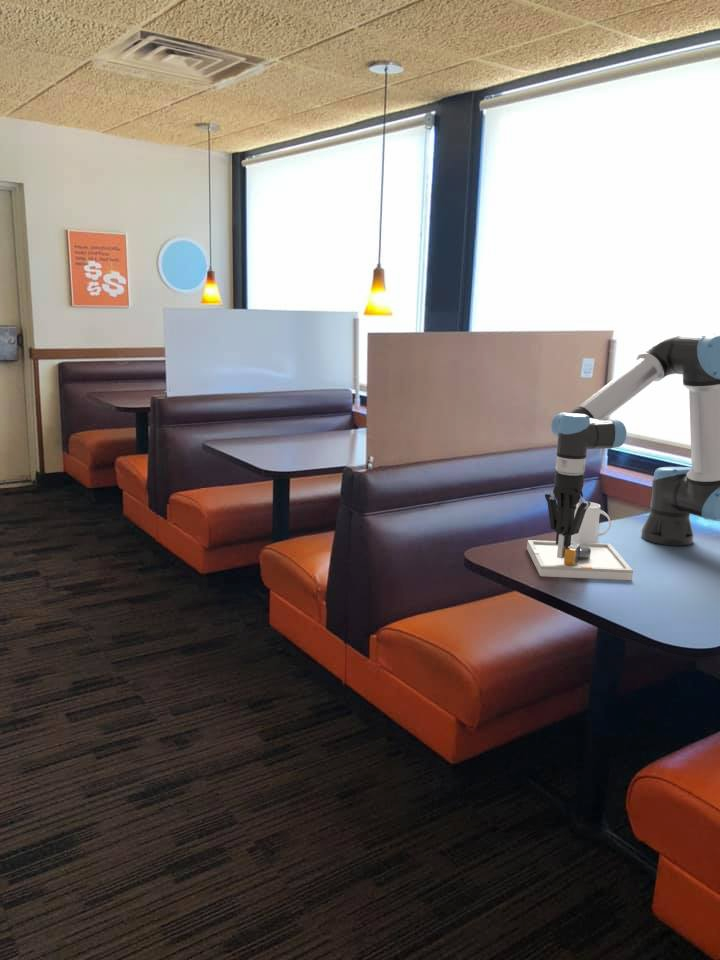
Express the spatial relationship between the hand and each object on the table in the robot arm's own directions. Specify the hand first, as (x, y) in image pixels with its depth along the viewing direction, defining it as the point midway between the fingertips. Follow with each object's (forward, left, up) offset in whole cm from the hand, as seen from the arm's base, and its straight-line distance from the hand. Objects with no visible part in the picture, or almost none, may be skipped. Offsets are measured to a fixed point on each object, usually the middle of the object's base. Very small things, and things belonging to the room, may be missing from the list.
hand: (561, 556), depth 207 cm
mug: (-14, -27, -4) cm, 31 cm away
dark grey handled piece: (-4, -3, -1) cm, 5 cm away
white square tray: (-6, -6, -4) cm, 9 cm away
